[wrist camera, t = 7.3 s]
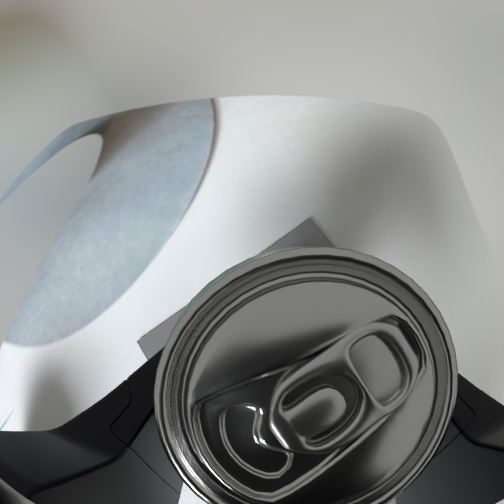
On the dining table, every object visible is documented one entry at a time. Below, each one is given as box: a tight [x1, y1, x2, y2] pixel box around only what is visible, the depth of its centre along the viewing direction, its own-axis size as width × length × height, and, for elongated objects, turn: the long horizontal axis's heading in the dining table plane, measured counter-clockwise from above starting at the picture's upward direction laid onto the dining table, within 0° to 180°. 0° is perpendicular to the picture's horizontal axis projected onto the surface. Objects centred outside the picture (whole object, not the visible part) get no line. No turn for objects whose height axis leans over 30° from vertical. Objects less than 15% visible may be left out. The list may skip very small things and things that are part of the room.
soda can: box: [154, 247, 458, 504], centre depth 9 cm, size 5×5×12 cm
